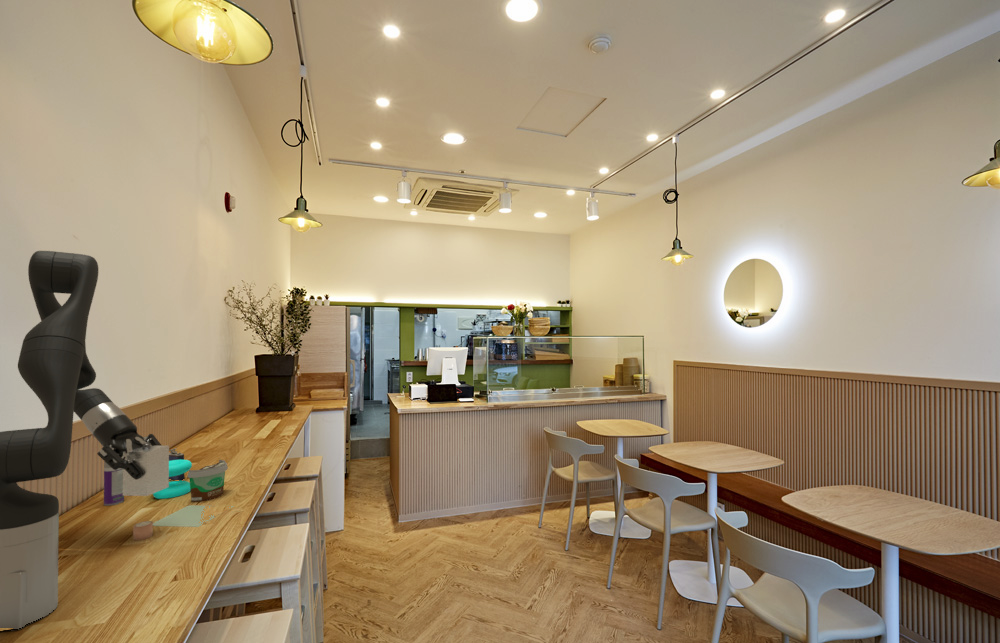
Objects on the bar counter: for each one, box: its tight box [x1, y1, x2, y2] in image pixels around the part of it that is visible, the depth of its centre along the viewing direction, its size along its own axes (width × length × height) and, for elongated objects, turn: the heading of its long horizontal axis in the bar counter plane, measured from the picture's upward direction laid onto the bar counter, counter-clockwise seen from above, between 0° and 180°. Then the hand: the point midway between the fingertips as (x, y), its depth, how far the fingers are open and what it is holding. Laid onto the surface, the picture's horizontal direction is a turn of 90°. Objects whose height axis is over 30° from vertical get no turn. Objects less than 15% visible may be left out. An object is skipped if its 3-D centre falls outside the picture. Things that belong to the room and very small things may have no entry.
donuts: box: [152, 459, 193, 500], centre depth 144 cm, size 10×10×10 cm
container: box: [103, 459, 125, 507], centre depth 137 cm, size 5×5×15 cm
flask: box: [169, 447, 185, 481], centre depth 159 cm, size 9×3×11 cm, turn 76°
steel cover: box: [123, 443, 170, 497], centre depth 114 cm, size 6×6×12 cm
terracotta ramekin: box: [132, 520, 154, 541], centre depth 113 cm, size 4×4×4 cm
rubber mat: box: [153, 504, 235, 528], centre depth 126 cm, size 14×14×1 cm
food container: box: [187, 459, 229, 503], centre depth 140 cm, size 12×6×10 cm, turn 168°
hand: (152, 472), depth 113 cm, fingers closed on steel cover, 6 cm apart
